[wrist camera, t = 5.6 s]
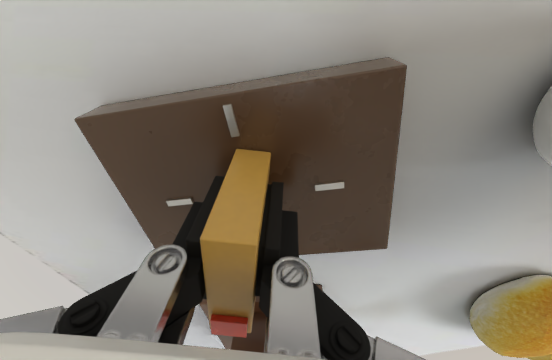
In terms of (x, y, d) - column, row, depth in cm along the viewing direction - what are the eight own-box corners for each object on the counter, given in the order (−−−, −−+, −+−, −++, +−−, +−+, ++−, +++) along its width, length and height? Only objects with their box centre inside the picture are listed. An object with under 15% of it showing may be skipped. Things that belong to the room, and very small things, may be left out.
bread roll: (512, 260, 17) (565, 318, 14) (619, 285, 18) (693, 346, 15) (440, 319, 22) (467, 374, 19) (529, 337, 23) (570, 392, 19)
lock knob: (236, 148, 11) (196, 245, 7) (271, 151, 11) (257, 252, 7) (235, 227, 14) (207, 336, 9) (264, 230, 14) (250, 341, 9)
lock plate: (390, 56, 11) (409, 65, 9) (377, 225, 16) (388, 251, 14) (101, 105, 13) (70, 120, 11) (176, 241, 18) (163, 267, 16)
